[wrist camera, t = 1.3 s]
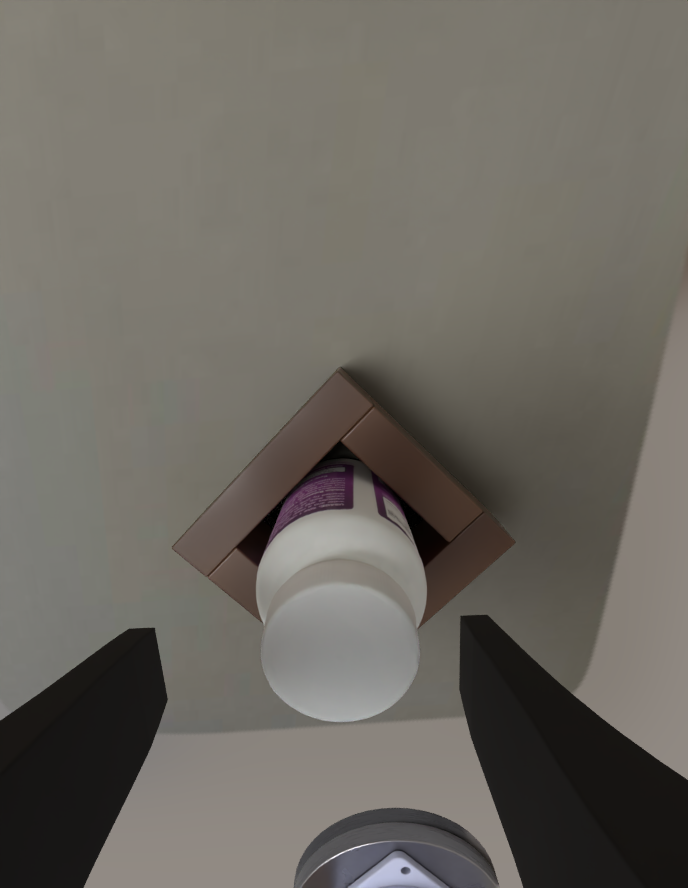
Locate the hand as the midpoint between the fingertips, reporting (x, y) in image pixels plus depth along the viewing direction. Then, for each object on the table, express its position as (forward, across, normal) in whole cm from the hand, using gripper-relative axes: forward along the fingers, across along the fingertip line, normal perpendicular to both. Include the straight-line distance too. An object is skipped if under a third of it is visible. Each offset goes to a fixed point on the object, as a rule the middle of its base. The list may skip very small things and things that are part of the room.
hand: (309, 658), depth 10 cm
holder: (+10, -1, +1) cm, 10 cm away
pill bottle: (+10, -1, +1) cm, 10 cm away
